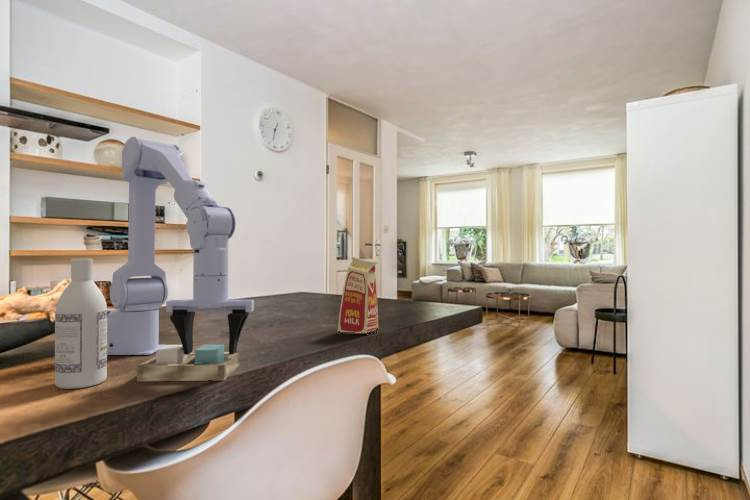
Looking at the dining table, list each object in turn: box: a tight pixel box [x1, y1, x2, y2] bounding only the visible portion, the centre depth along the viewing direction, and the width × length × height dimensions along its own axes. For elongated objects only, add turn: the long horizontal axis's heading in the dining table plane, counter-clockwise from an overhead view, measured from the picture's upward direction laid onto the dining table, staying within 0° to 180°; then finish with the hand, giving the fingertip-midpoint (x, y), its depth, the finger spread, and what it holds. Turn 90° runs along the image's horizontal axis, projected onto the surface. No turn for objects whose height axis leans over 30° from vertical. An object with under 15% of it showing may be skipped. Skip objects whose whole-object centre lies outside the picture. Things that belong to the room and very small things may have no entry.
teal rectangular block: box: [194, 344, 225, 364], centre depth 77 cm, size 6×4×4 cm, turn 1°
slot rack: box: [136, 351, 240, 382], centre depth 77 cm, size 14×10×3 cm
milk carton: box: [337, 256, 379, 333], centre depth 117 cm, size 9×9×20 cm
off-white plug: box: [155, 344, 187, 364], centre depth 77 cm, size 6×4×4 cm, turn 2°
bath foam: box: [54, 257, 108, 390], centre depth 71 cm, size 7×7×20 cm
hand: (210, 353), depth 77 cm, fingers open, 7 cm apart
